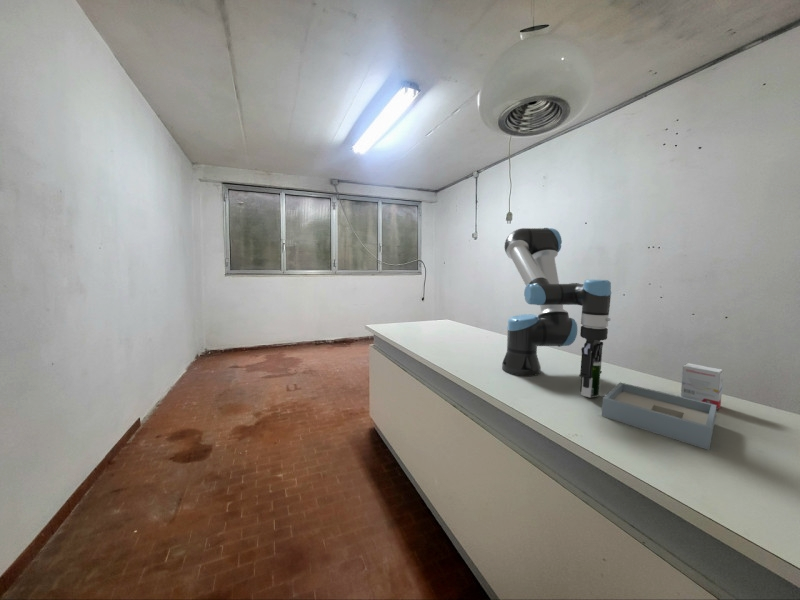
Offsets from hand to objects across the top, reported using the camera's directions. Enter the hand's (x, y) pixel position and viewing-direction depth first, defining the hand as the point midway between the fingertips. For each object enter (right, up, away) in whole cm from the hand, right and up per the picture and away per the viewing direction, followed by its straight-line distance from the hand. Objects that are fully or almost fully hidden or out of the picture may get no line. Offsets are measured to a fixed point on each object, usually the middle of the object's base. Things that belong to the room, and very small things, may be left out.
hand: (589, 393), depth 102 cm
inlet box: (+9, -2, -16) cm, 19 cm away
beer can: (0, -1, 0) cm, 0 cm away
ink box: (+31, -1, -6) cm, 32 cm away
